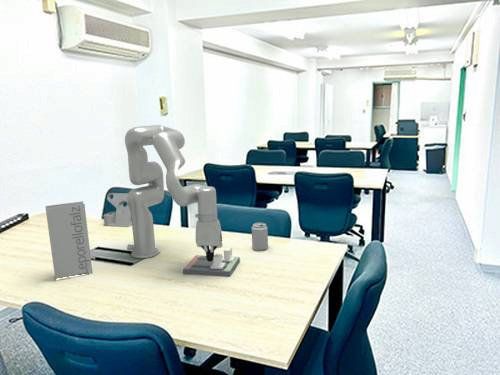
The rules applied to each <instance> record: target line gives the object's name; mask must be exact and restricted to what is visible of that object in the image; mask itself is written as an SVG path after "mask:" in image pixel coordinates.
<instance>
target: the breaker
mask: <svg viewBox="0 0 500 375" xmlns="http://www.w3.org/2000/svg"><path fill="white" fill-rule="evenodd" d="M222 257H223V258H222V262H233V261H234V259H235V257H236V255H233V248H232V246H231V247H230V246H229V247H227V246H226V247H225V249H224V250H223V255H222Z"/></svg>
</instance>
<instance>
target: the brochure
mask: <svg viewBox="0 0 500 375" xmlns="http://www.w3.org/2000/svg"><path fill="white" fill-rule="evenodd" d="M45 214H46V221H47V228H48V235H49V243H50V251H51V256H52V257H51V258H52V265H53V272H54V278H55V279H57V278H63V277H69V276H75V275H82V274H87V273H92V274H93V272H94V271H93V265H92V264H93V263H92V256H91V248H90V247H91V246H90V238H89V231H88V221H87V214H86V205H85V203H84V201H83V200H82V201H75V202H67V203H59V204H51V205H50V204H49V205H45ZM87 275H88V274H87Z"/></svg>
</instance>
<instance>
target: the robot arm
mask: <svg viewBox="0 0 500 375" xmlns="http://www.w3.org/2000/svg"><path fill="white" fill-rule="evenodd" d="M185 144H186V140H185V137H184V135H183V133H182V132H181V131H180V130H177V129H175V128H172V127H168V126H165V125H162V124H161V125H160V124H153V125H141V126H139V125H138V126H136V127H135V126H133V127H132V128H130V129H128V130H127V132H126V134H125V136H124V145H125V148H126V152H127V162H128V163H127V164H128V177H129V181H130V183H131V184H132V185H134V186H139V187H135V188H133V189H131V190H130V191H129V192H127V193H128V195H127V201H128V205H129V208H130V212H131V221H132V226H131V228H132V239H133V244H129V243H128V244H127V245H126V247H127V248H126V250H128V251H130V250H131V252H130V253H131V257H133V258H135V259H148V258H152V257H155V256H157V255H158V254H159V253H160V250H159V248H158V247H156V240H155V228H154V219H153V218H154V217H153V214H152V212H151V211H150V210H149V208H150V207H152V206H155V205H159V204H160V203H162V202H163V200H164V198H165V185H166V190H167V191H168V193H169V195H170V197H171V198H172V200H173V202H174V203H175V204H176V205H177V206H180V207H187V206H189V205H193V204H196V203H197V214H196V213H195V214H194V215H195V216H194V218H196V219H197V220H196V223H195V225H196V226H195V243H196V247H197V248H201V249H203V251H204V253H205V256H206V259H207V261H208V262H209V261H210V262H212V260H213V257H214V256H215V251H216V250H217V249H220V248H222V247H223V234H222V227H221V223H220V220H219V219H218V206H217V191H216V188H215V186H208V185H202V184H201V183H200V184H199V183H194V184H190V185H186V186H182V184H181V182H180V180H179V177H178V171H179V170H180V169H181V168H183V167H184V166H185V163H186V159H185V157H184V155H183V154H182V152H181V151H180V150H181V149H183V147H184V146H185ZM144 146H153V147H154V149H155V151H156V152H157V155H158V157H159V158H160V160H161V162H162V164H163V165H164V167H165V169H166V174H165V182H164V171H163V168H162V166H161V165H160V164H159V163H158V162H156V161H149V159H148V157H149V155H148V152H147V150H146V149H145V147H144ZM164 183H165V184H164ZM145 184H147V185H145ZM142 185H143V186H142Z"/></svg>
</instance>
